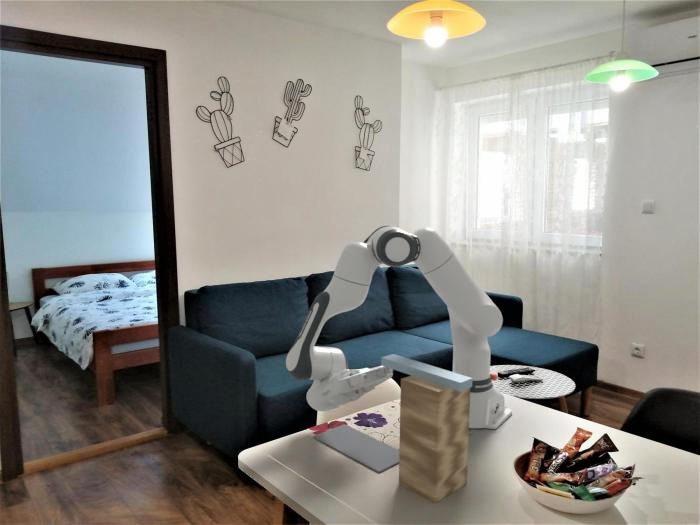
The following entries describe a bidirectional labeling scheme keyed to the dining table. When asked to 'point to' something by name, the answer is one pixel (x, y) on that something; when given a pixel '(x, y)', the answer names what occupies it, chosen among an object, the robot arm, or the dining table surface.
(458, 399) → the oak stand
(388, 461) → the mat
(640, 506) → the dining table surface
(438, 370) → the slat
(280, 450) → the dining table surface
